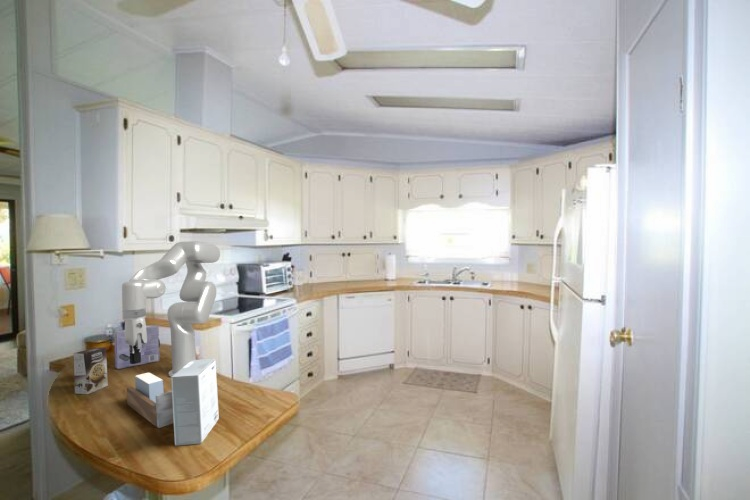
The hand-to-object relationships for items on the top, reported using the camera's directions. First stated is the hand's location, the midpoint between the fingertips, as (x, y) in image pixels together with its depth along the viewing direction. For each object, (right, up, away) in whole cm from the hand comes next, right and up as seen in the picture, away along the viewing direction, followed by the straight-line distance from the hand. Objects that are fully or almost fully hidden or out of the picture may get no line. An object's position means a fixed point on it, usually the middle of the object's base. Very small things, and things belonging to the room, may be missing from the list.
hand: (135, 363), depth 143 cm
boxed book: (+10, -13, -7) cm, 18 cm away
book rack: (+14, -13, -11) cm, 22 cm away
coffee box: (-24, -14, +11) cm, 30 cm away
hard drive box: (+36, -13, -28) cm, 48 cm away
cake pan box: (-26, -14, +44) cm, 53 cm away
